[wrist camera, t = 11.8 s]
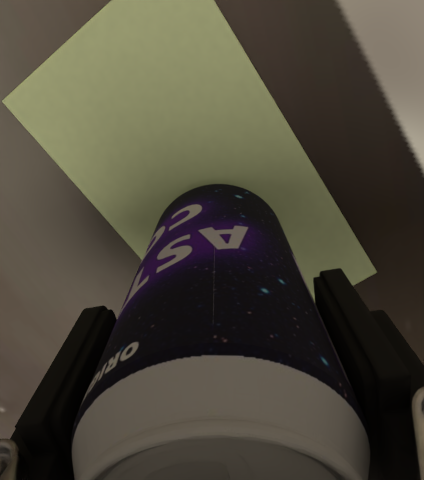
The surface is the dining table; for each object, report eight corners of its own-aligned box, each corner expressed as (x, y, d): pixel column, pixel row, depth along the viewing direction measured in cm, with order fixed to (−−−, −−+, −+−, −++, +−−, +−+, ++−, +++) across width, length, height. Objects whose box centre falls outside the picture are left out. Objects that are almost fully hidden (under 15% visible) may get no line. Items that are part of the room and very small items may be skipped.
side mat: (375, 270, 18) (377, 272, 18) (225, 352, 20) (225, 355, 20) (177, -59, 13) (177, -61, 12) (3, 100, 15) (1, 100, 15)
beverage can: (244, 153, 15) (315, 347, 4) (300, 259, 17) (449, 581, 6) (133, 216, 16) (-41, 495, 5) (197, 308, 18) (166, 651, 7)
